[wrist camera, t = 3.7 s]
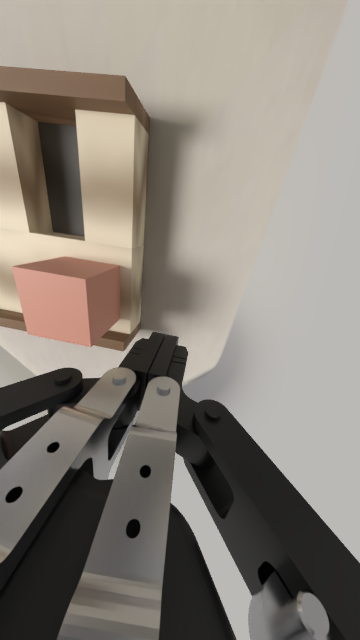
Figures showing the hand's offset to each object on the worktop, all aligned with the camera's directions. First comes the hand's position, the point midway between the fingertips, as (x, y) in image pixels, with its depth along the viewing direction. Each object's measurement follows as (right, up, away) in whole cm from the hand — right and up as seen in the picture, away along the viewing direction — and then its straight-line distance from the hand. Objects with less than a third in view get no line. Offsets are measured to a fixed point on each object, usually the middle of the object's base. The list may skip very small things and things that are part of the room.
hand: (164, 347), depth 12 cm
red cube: (-7, +4, +6) cm, 10 cm away
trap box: (-13, +11, +8) cm, 18 cm away
